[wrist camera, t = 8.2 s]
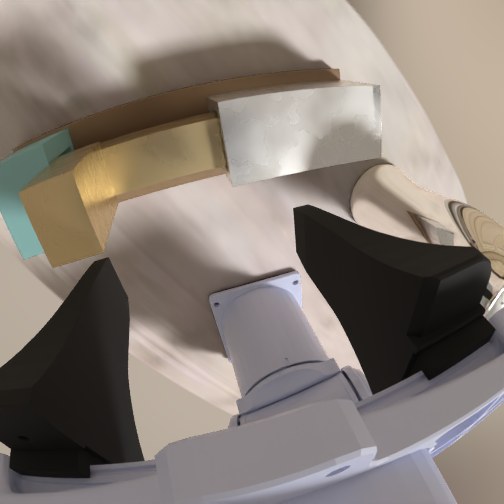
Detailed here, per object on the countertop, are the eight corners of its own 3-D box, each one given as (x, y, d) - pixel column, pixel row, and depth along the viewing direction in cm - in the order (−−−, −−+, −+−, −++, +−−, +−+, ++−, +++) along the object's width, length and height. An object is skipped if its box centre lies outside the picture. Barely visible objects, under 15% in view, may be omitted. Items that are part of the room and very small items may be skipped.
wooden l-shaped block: (259, 152, 19) (310, 198, 12) (58, 208, 17) (15, 280, 11) (251, 97, 17) (304, 113, 10) (40, 158, 15) (-20, 210, 9)
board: (337, 146, 22) (344, 150, 21) (47, 221, 19) (43, 228, 18) (332, 68, 18) (339, 68, 18) (19, 146, 16) (13, 149, 15)
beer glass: (330, 216, 25) (453, 349, 13) (372, 143, 22) (532, 236, 10) (382, 241, 28) (488, 352, 16) (419, 180, 25) (546, 270, 13)
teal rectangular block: (93, 207, 19) (78, 241, 15) (45, 224, 18) (23, 259, 14) (67, 128, 15) (42, 144, 12) (17, 150, 15) (-15, 172, 11)
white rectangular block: (344, 139, 21) (381, 157, 17) (218, 163, 19) (232, 186, 16) (340, 79, 18) (379, 85, 14) (206, 96, 17) (217, 102, 13)
